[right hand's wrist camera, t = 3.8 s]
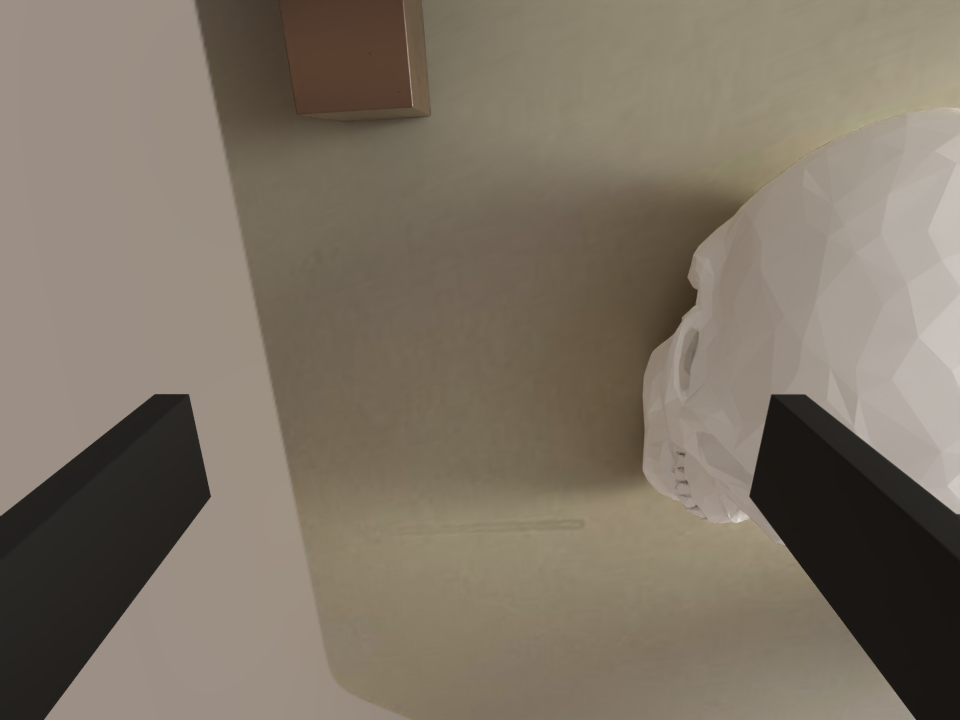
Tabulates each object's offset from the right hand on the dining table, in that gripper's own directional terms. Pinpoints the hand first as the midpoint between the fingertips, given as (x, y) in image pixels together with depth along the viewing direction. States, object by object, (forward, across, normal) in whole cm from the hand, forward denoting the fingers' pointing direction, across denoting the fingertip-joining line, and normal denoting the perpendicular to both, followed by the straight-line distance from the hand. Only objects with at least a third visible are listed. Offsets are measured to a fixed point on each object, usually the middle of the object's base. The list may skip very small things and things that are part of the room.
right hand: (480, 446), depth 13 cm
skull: (+19, +15, -3) cm, 24 cm away
